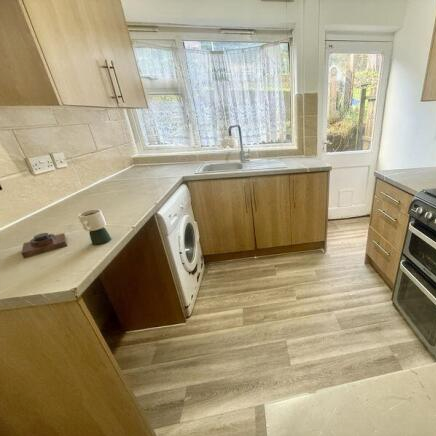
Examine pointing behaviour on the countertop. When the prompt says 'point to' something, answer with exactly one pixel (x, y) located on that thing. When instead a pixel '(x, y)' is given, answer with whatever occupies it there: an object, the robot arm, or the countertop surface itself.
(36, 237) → the button
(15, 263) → the countertop surface
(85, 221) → the character mug
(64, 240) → the button box
